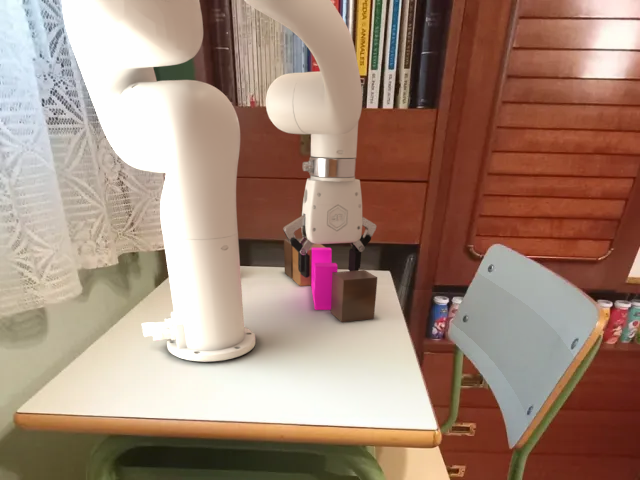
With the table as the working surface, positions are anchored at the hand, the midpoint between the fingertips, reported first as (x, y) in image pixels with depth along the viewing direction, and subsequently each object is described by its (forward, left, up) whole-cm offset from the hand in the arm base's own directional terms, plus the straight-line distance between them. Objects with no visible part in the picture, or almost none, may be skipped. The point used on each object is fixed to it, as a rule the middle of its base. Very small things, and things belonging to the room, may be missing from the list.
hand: (329, 274), depth 89 cm
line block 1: (0, +17, -4) cm, 18 cm away
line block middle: (0, +11, -4) cm, 12 cm away
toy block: (0, 0, -5) cm, 5 cm away
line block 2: (0, -11, -4) cm, 12 cm away
